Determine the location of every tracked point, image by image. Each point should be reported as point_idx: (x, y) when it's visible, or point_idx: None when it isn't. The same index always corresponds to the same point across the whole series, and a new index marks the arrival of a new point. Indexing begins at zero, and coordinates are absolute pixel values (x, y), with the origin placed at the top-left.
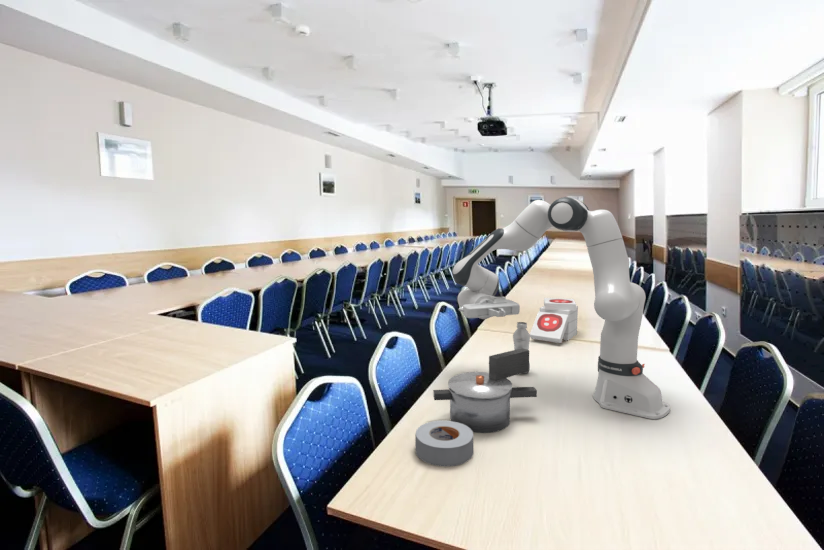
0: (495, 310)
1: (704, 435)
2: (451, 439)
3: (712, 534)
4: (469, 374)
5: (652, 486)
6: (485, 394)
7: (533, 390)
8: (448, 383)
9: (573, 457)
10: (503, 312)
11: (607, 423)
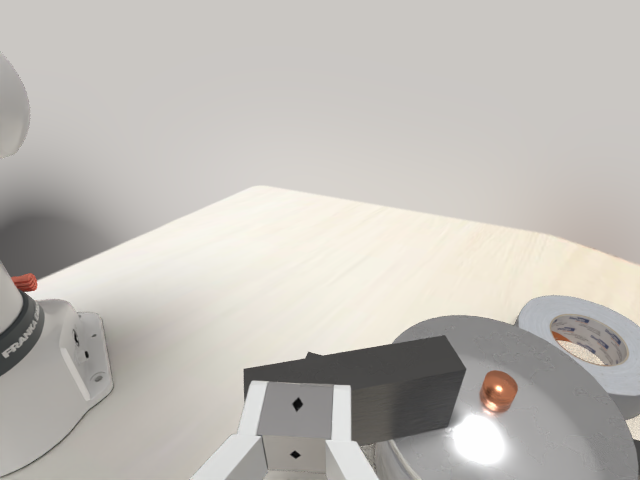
0: (339, 459)
1: (108, 267)
2: None
3: (312, 198)
4: None
5: (298, 232)
6: (491, 323)
7: (317, 355)
8: (633, 445)
9: (341, 284)
10: (279, 383)
11: (187, 335)
